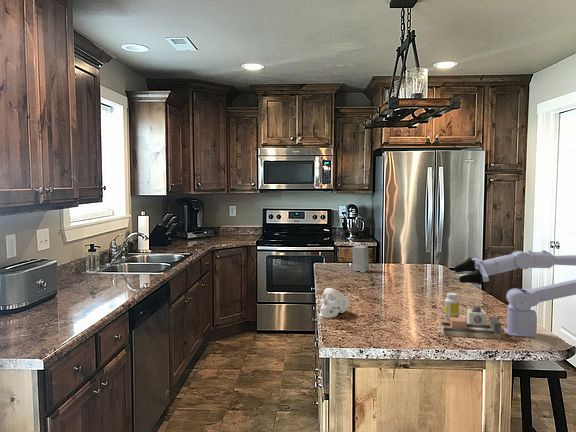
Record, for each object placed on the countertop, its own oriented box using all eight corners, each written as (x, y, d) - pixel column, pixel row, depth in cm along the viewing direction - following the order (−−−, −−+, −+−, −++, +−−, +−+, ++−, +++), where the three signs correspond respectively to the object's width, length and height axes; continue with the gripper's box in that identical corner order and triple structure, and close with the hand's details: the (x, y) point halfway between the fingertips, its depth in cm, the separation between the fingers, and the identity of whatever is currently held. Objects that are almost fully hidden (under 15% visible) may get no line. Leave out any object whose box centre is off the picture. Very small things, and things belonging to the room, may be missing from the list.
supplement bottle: (460, 317, 192) (461, 293, 191) (455, 320, 187) (455, 296, 187) (447, 315, 195) (448, 291, 194) (442, 317, 191) (442, 294, 190)
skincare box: (368, 271, 295) (369, 246, 294) (364, 273, 289) (364, 247, 288) (356, 269, 299) (356, 245, 298) (351, 271, 293) (352, 246, 292)
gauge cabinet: (483, 323, 183) (483, 309, 183) (486, 328, 177) (486, 314, 177) (466, 322, 184) (467, 308, 184) (469, 327, 178) (469, 313, 178)
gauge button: (479, 319, 182) (479, 306, 181) (480, 321, 179) (481, 308, 179) (471, 319, 182) (472, 306, 182) (473, 321, 180) (473, 308, 179)
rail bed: (495, 331, 173) (495, 316, 173) (500, 339, 165) (501, 323, 164) (441, 327, 177) (441, 313, 177) (443, 335, 169) (444, 320, 168)
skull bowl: (309, 312, 193) (319, 285, 197) (327, 324, 202) (336, 298, 206) (329, 317, 186) (339, 288, 190) (346, 329, 195) (356, 302, 199)
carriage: (464, 326, 174) (464, 317, 173) (466, 330, 169) (466, 321, 168) (450, 325, 175) (450, 317, 175) (451, 329, 170) (452, 320, 170)
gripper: (487, 247, 177) (450, 256, 179) (499, 265, 163) (460, 275, 166) (490, 263, 179) (454, 272, 182) (503, 283, 165) (463, 291, 168)
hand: (457, 274), depth 174 cm, fingers open, 7 cm apart
